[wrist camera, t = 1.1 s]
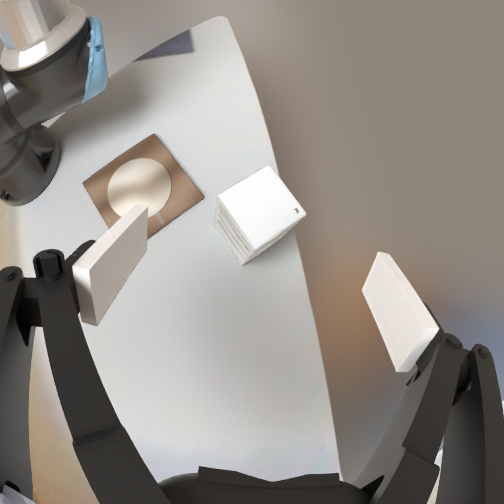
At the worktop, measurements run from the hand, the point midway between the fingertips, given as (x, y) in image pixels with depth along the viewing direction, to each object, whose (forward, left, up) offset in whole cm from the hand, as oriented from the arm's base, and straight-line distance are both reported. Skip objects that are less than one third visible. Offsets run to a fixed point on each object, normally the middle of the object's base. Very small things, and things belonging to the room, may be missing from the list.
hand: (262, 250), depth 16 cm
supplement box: (-4, +7, -27) cm, 28 cm away
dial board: (-19, -2, -26) cm, 33 cm away
